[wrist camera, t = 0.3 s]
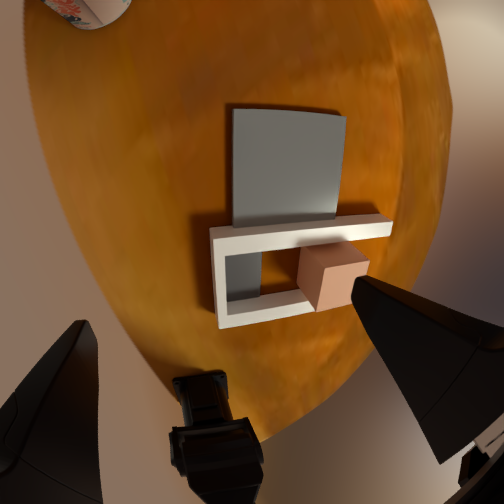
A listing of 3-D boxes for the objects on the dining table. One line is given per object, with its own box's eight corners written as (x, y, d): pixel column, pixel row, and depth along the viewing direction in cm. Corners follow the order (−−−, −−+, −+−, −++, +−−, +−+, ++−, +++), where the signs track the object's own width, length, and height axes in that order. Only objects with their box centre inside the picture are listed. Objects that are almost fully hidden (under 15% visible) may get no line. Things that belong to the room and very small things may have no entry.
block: (335, 275, 28) (358, 301, 24) (295, 282, 27) (316, 312, 23) (342, 236, 26) (369, 260, 22) (301, 241, 25) (324, 268, 21)
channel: (362, 286, 30) (372, 296, 28) (215, 314, 26) (219, 329, 24) (380, 213, 25) (393, 221, 24) (209, 227, 21) (213, 239, 20)
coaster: (331, 216, 24) (334, 219, 23) (231, 225, 22) (233, 228, 21) (342, 116, 20) (346, 116, 19) (231, 109, 17) (233, 109, 17)
